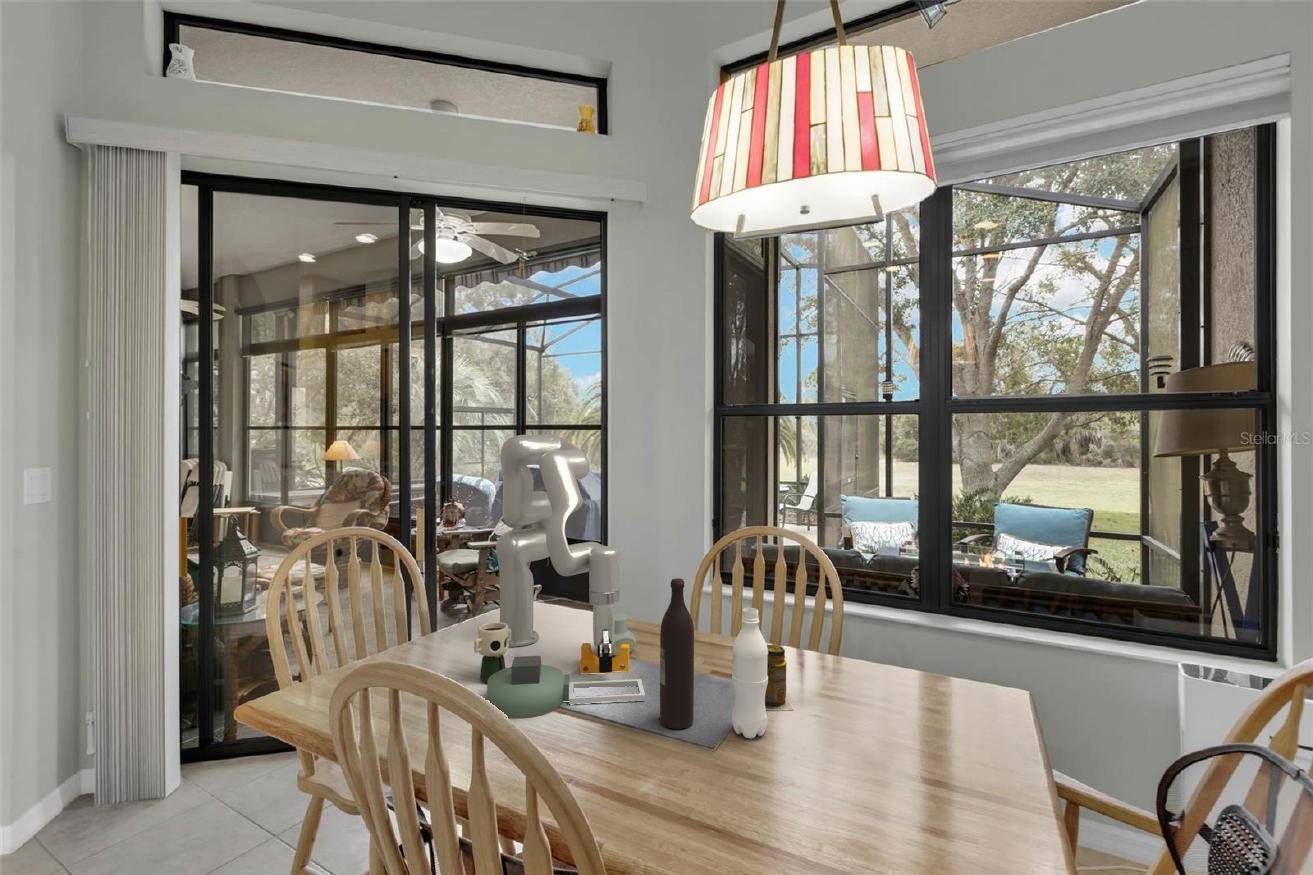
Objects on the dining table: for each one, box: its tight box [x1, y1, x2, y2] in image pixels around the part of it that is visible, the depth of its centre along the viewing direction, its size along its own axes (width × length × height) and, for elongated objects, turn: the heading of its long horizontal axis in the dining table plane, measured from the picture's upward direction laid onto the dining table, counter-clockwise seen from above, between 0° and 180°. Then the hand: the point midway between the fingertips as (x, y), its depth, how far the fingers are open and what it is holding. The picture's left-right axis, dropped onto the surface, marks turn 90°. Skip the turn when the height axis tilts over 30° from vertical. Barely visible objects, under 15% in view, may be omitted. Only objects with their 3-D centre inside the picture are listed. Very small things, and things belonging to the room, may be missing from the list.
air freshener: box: [597, 612, 637, 657], centre depth 171 cm, size 11×8×10 cm
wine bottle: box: [659, 577, 695, 730], centre depth 131 cm, size 7×7×30 cm
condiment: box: [765, 644, 794, 712], centre depth 141 cm, size 7×8×12 cm
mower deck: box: [486, 655, 646, 719], centre depth 142 cm, size 17×35×9 cm, turn 97°
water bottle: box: [731, 607, 769, 739], centre depth 127 cm, size 7×7×25 cm
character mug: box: [473, 621, 511, 683], centre depth 153 cm, size 11×7×13 cm, turn 143°
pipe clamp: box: [579, 642, 630, 674], centre depth 158 cm, size 12×4×6 cm, turn 87°
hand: (604, 664), depth 157 cm, fingers open, 9 cm apart
